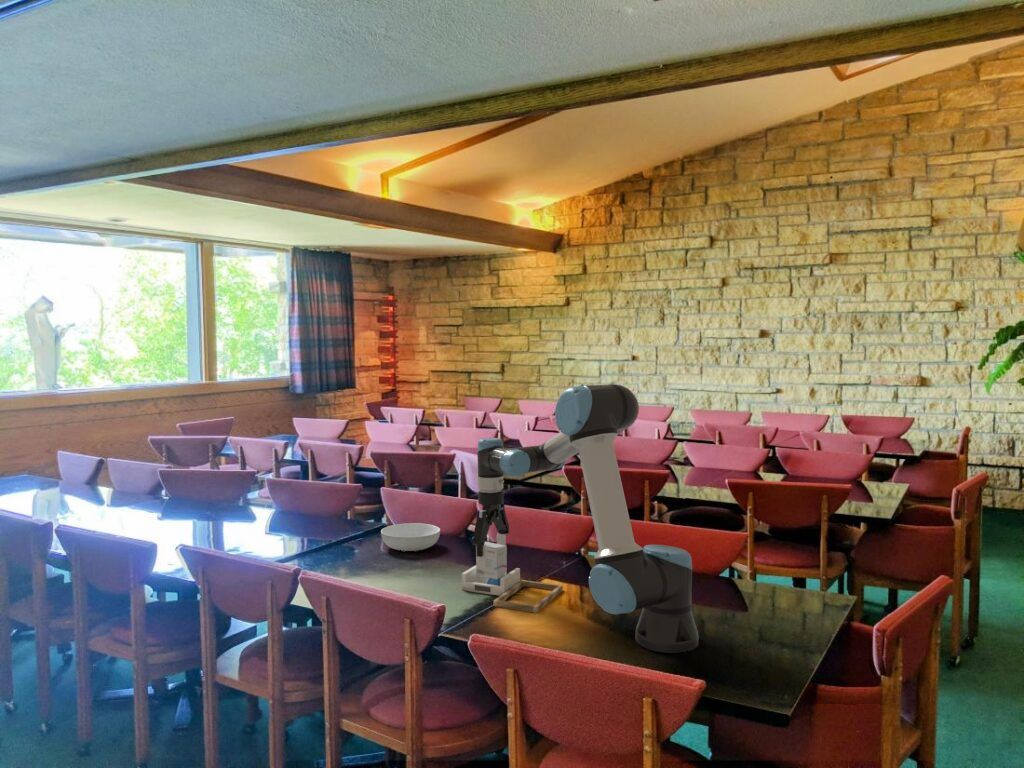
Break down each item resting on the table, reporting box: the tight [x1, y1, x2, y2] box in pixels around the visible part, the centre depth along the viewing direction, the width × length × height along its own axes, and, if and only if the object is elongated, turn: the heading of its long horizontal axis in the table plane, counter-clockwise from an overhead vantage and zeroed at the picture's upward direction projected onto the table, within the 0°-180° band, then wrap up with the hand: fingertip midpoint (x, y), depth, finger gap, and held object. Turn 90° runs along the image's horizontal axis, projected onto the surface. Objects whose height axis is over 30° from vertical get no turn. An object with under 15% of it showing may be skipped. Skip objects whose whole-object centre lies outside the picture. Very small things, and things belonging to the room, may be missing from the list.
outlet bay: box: [461, 564, 521, 597], centre depth 224 cm, size 12×14×5 cm
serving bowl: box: [380, 522, 441, 552], centre depth 267 cm, size 21×21×7 cm
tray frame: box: [492, 579, 564, 614], centre depth 215 cm, size 20×13×2 cm, turn 156°
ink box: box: [475, 541, 508, 586], centre depth 224 cm, size 9×5×12 cm, turn 52°
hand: (491, 561), depth 223 cm, fingers open, 13 cm apart
